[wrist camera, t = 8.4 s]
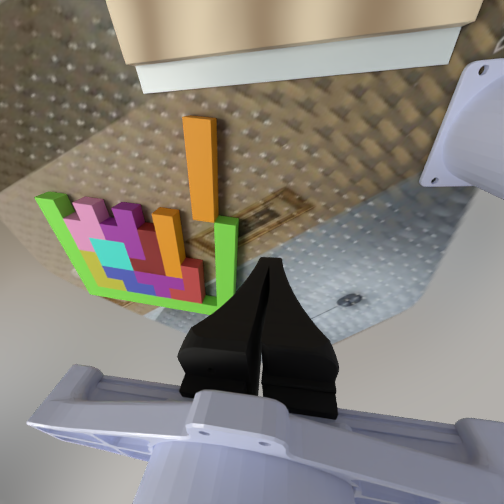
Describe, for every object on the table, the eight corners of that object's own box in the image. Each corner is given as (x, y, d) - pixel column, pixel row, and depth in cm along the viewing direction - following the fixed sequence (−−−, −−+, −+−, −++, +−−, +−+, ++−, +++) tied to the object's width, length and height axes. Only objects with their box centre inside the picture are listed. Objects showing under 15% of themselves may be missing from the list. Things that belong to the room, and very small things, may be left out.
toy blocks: (235, 306, 33) (244, 120, 18) (232, 318, 31) (239, 122, 16) (100, 283, 34) (4, 95, 19) (90, 294, 33) (-26, 94, 18)
